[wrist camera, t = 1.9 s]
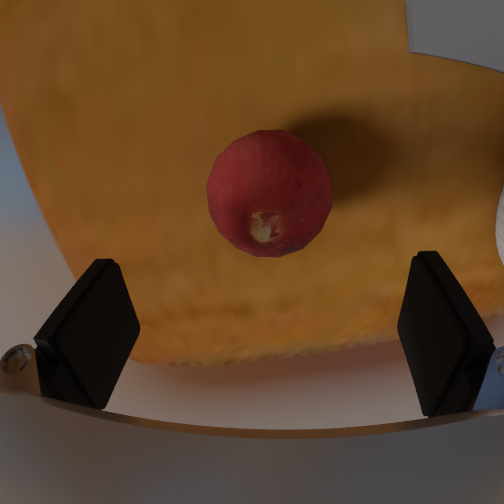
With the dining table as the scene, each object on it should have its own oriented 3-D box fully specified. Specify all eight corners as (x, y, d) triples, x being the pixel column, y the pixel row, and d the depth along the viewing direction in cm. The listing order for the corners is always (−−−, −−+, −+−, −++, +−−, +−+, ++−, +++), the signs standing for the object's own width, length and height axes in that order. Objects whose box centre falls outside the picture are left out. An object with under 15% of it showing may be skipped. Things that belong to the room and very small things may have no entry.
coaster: (394, -67, 9) (398, -71, 9) (503, -32, 8) (510, -34, 8) (409, 52, 14) (414, 52, 13) (514, 76, 13) (521, 77, 12)
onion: (336, 196, 19) (364, 277, 12) (247, 227, 20) (229, 317, 14) (300, 104, 16) (314, 130, 9) (204, 144, 18) (155, 197, 11)
